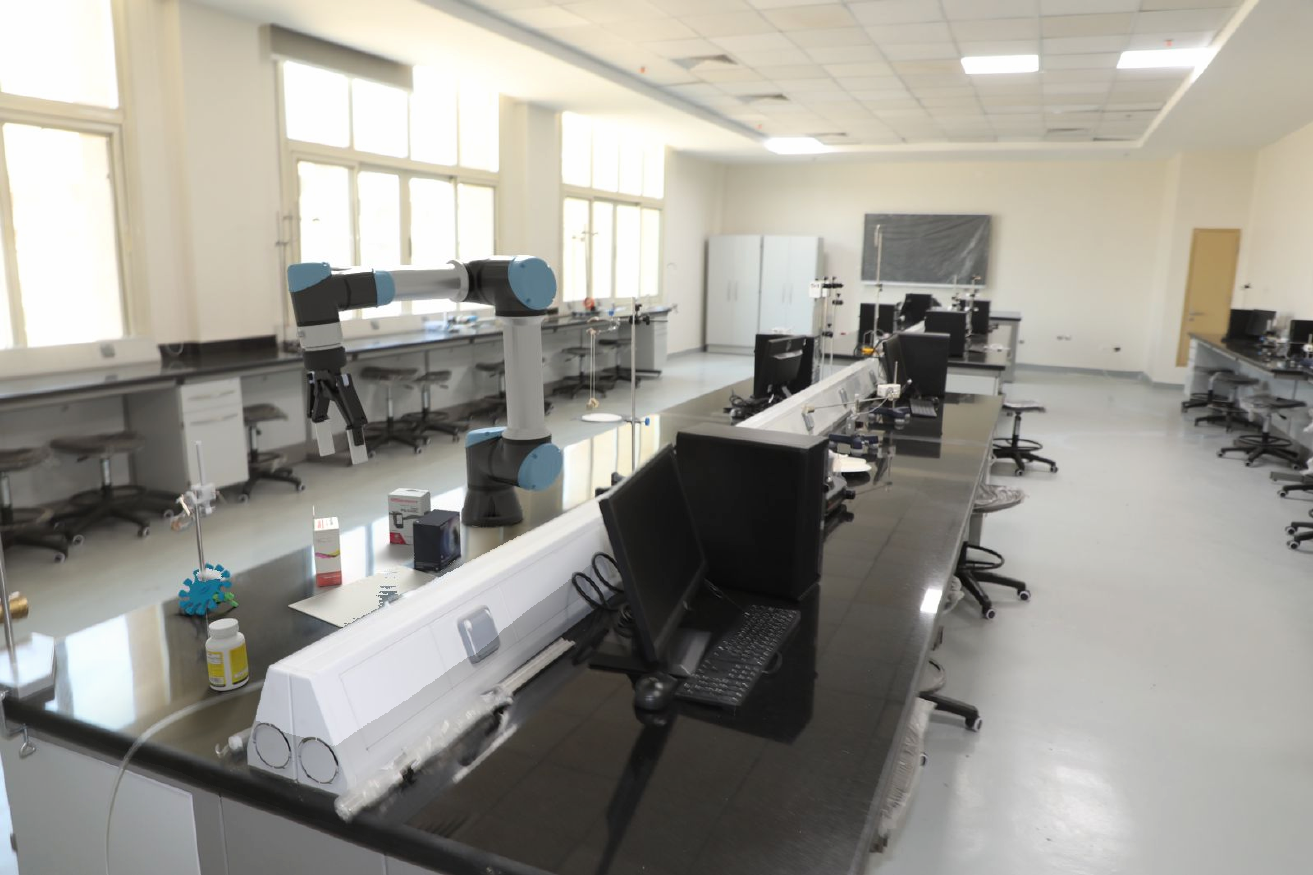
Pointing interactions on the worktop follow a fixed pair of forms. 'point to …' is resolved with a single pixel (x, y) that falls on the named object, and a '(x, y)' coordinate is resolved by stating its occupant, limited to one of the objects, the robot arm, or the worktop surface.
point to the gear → (206, 592)
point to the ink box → (406, 512)
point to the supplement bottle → (226, 655)
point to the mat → (360, 595)
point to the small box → (436, 540)
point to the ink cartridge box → (327, 551)
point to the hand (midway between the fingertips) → (343, 458)
